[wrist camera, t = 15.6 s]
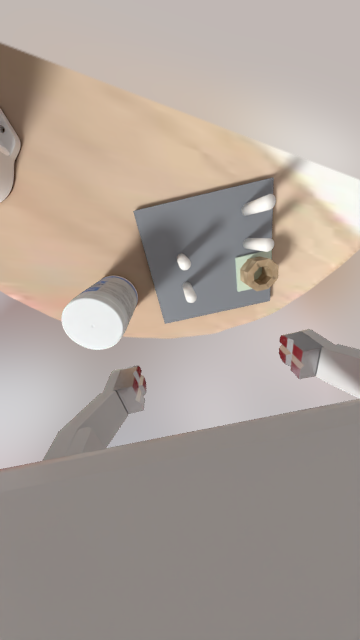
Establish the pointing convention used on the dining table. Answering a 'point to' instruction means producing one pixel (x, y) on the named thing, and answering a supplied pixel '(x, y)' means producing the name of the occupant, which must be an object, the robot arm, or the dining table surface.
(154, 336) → the dining table surface
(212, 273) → the board
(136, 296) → the supplement tub
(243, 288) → the pad
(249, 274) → the ring
